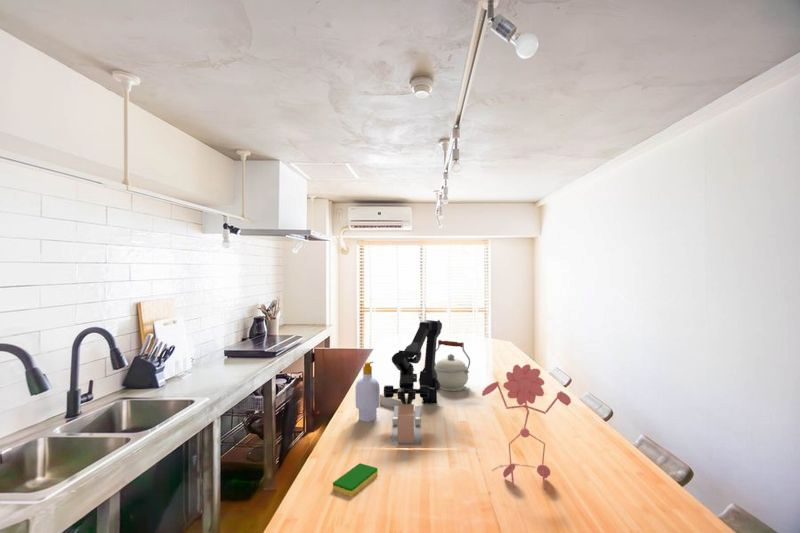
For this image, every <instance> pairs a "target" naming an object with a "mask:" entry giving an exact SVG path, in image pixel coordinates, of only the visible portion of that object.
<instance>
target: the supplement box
mask: <svg viewBox="0 0 800 533" xmlns="http://www.w3.org/2000/svg"><path fill="white" fill-rule="evenodd" d="M407 399H408V394H405V400H406V404H407ZM399 404H402V402H401V400H400V399H398V394H394V396H393V397H392V398H385V397H384V393H382V394H380V406H383V407H389V408H393V409H394V406H399ZM411 404H413V401H412V402H411Z"/></svg>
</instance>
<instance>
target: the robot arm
mask: <svg viewBox="0 0 800 533" xmlns="http://www.w3.org/2000/svg"><path fill="white" fill-rule="evenodd" d="M442 328H443V324H442V321H440V319H432V318H431V319H428V318H427V319H426V320H424V321H423V320H422V321H420V322H419V325H418V329H417V331H416V333H415V335H414V337H413V339H412V342H411V343H410V344H408V345H407V346H406V347H405V348H404V350H402V349H399V350H398V352H396V353H394V354H393V355H392V357H391V362H392V364H393V365H394V367H396V369H397V370H398V371H399V386H398V388H394V385H389V384H387V385H384V387H383V394H384V397H385V398H392V397H393V396H394V394H398V399H400V400H401V402H402V404H406V400H405V395H408V399H407V404H411V402H412V403H413V400H416V395H419V397H420V398H421V399H422V402H423V404H435V405H436V404H438V398H437V397H438V395H437V394H438V391H441V389H440V383H439V381H438V379H437V373H436V371H435V369H434V367H435V363H436V352H437V351H436V349H437V343H438V341H437V340H438V339H437V338H438V337H439V336H440V334H441V332H442ZM425 340H426V342H425ZM424 343H426V344H425V345H426V347H425V358H424V367H423V369H422V370H421V371H420V372H419V378H418V373H414V371H415V369H414V365H413V364H419V362H420V361H421V358H422V348H423V345H424ZM417 382H418V384H419V388H414V384H415V383H417Z"/></svg>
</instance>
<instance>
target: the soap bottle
mask: <svg viewBox="0 0 800 533" xmlns="http://www.w3.org/2000/svg"><path fill="white" fill-rule="evenodd" d="M371 364H374V361H367V362H364V366H363V367H362V369H363V370H362V372H363V373H362V376H363V377H362V378H361V377H360V379H359V380H358V381H357V382H356V384H355V408H356V409H358V420H360V421H362V422H374V421H375V420H376V419H377V416H378V415H377V414H378V413H377V410H378V408H380V406H381V405H380V395H381V394H380V390H381V389H380V388H381V387H380V383H379V381H378V380H377V379H376V378H374V377H373V372H372V370H373V368H372V366H371Z"/></svg>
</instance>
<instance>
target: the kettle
mask: <svg viewBox="0 0 800 533" xmlns="http://www.w3.org/2000/svg"><path fill="white" fill-rule="evenodd" d="M437 340H438V341H437V347H436V352H437V351H438V350H439V349H440V347H441V345H443V346H448V347H460V348H462V352H463V353H464V355H465V357H467V360H468V365H467V366H466V364H465V363H464V361H463V360H461V359H459V358H456V357H455V355H454V354H452V353H450V354H448V355H447V358H442V359H440V360H438V362H435V367H434V369H435V371H436V373H437V379H438V381H439V383H440V390H443V391H445V392H446V391H447V392H457V391H458V392H459V391H462V390H464V388H465V386H466V384H467V382H468V380H469V373H470V371H469V369H470V366H471V358H470V357H469V355H468V353H467V352H466V350H465V345H464V344H465V343H464V342H463V341H461V342H458V341H452V340H441V339H437Z"/></svg>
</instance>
